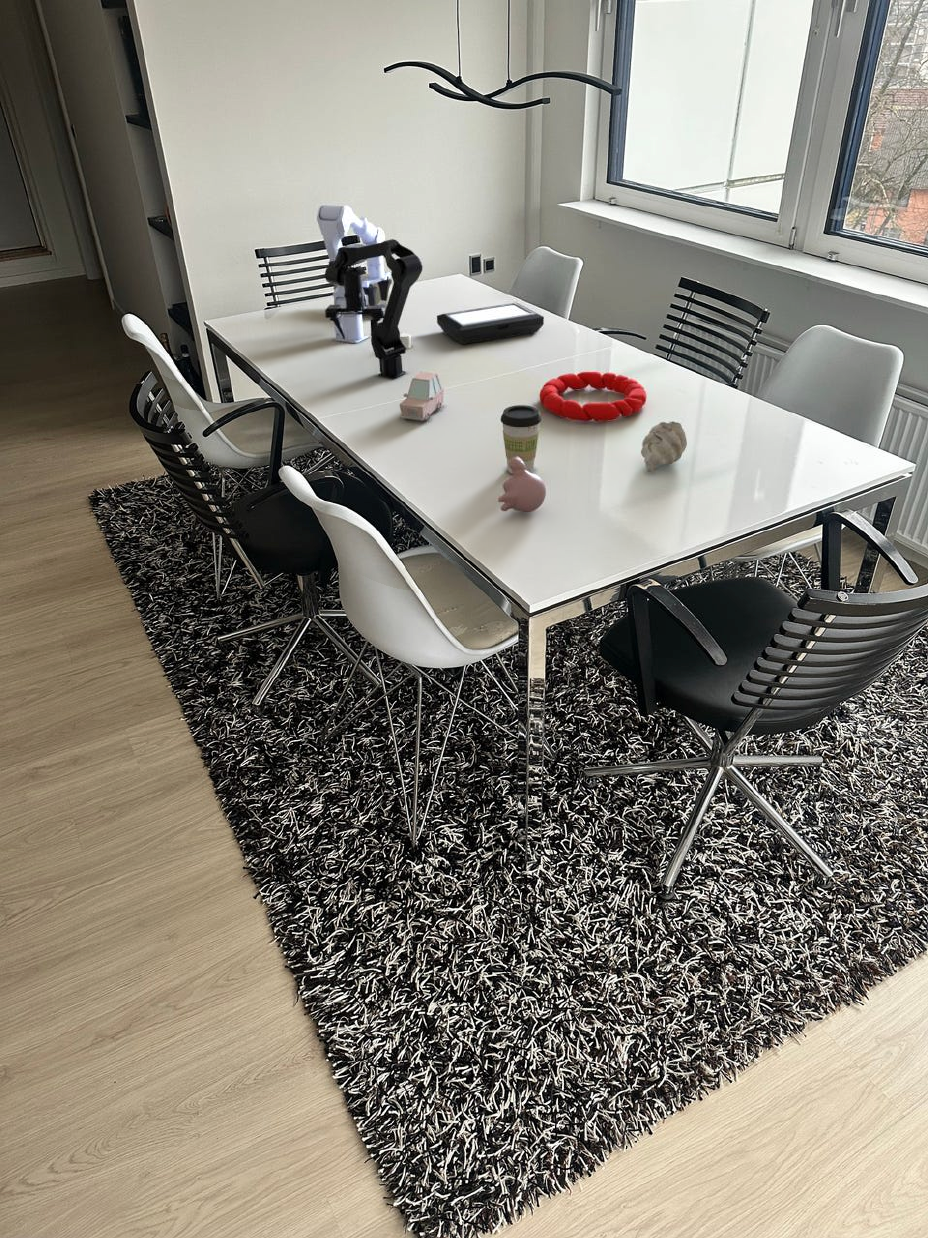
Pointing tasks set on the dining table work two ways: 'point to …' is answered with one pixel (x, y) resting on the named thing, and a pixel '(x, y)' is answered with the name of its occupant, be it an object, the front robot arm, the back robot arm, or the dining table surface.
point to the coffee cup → (521, 433)
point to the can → (406, 339)
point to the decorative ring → (593, 410)
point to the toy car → (422, 397)
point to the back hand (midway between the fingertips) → (378, 303)
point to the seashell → (663, 445)
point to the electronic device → (490, 322)
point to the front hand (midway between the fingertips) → (358, 338)
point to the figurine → (522, 489)
